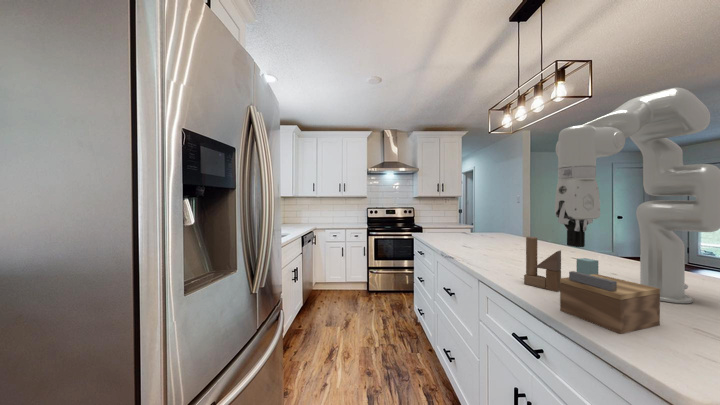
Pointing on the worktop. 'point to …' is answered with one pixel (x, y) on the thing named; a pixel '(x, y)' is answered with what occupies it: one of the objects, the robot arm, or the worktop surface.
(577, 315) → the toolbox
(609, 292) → the lid
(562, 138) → the robot arm
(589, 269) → the teal rectangular block
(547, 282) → the wooden block structure
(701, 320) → the worktop surface
